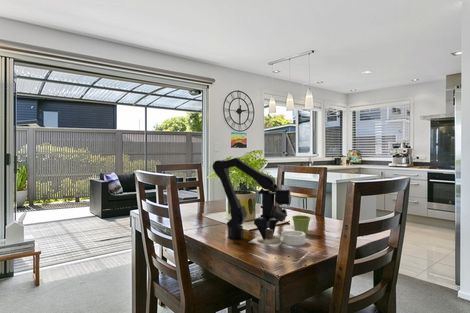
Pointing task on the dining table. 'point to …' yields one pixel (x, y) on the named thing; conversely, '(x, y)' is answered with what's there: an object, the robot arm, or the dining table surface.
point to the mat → (267, 244)
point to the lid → (269, 238)
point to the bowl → (294, 237)
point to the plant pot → (301, 223)
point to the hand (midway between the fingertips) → (268, 237)
